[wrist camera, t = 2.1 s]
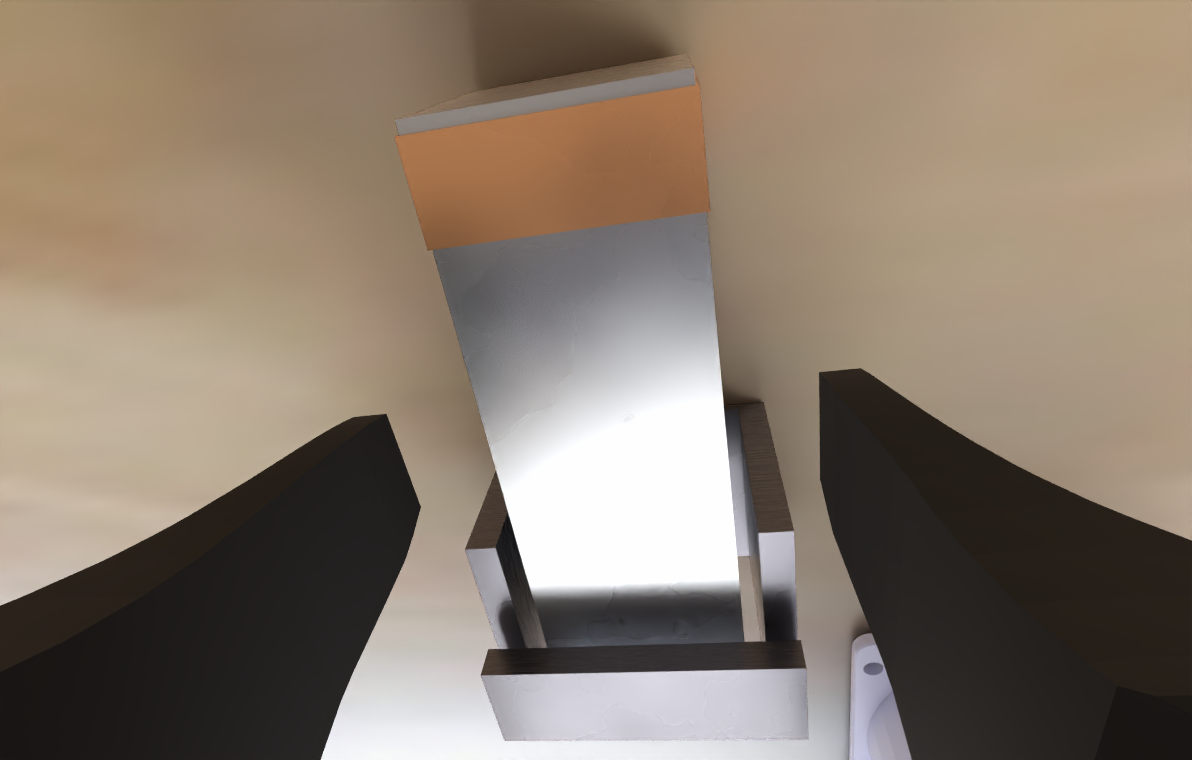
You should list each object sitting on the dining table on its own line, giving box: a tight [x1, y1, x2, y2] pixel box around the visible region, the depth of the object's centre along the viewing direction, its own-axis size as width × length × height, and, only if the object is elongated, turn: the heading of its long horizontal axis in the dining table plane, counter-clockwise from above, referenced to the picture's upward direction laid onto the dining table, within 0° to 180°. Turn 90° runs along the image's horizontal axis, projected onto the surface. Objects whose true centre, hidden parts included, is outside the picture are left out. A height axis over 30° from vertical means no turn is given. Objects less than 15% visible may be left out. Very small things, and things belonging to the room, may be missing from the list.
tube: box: [395, 53, 744, 648], centre depth 13 cm, size 12×4×4 cm, turn 9°
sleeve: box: [465, 402, 808, 741], centre depth 14 cm, size 4×6×5 cm
